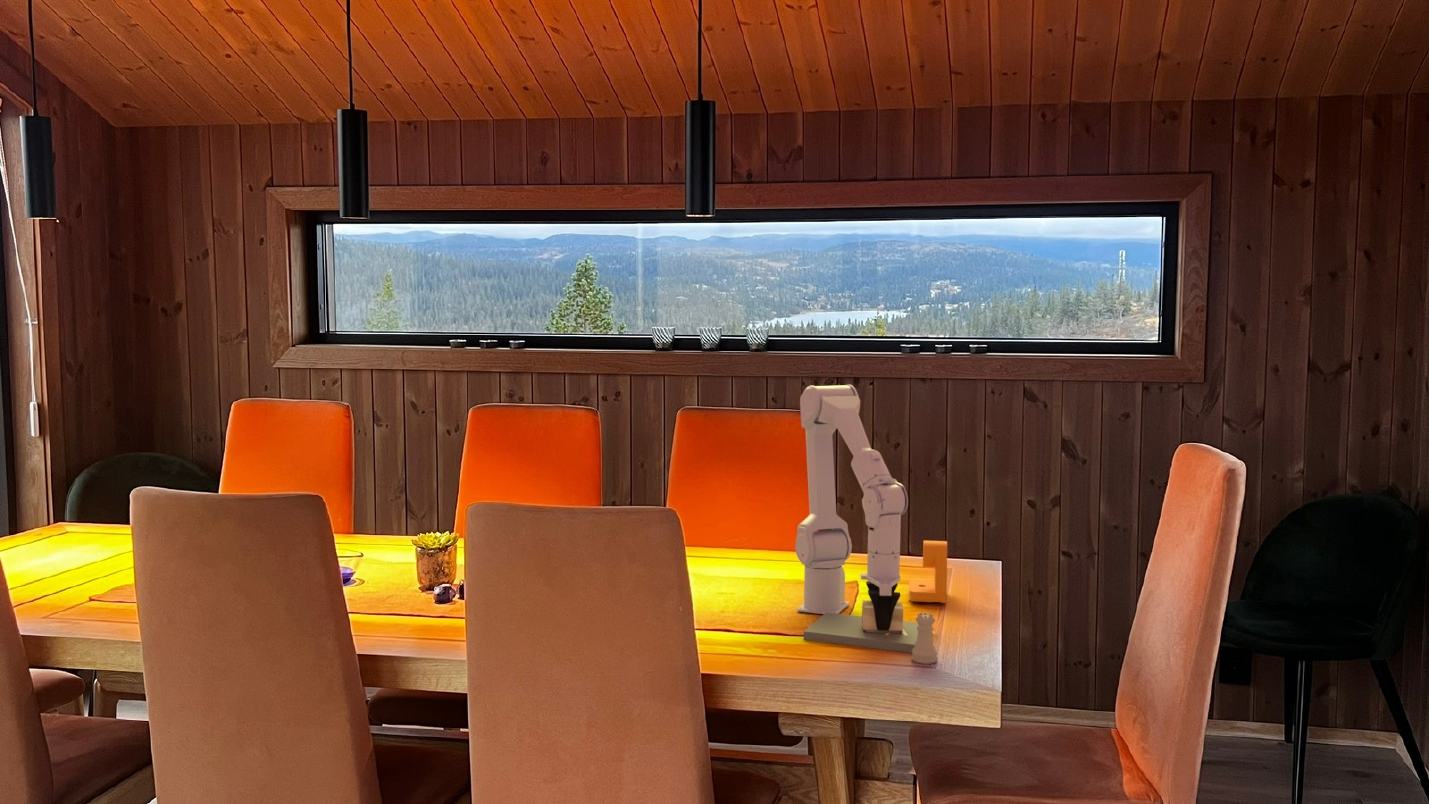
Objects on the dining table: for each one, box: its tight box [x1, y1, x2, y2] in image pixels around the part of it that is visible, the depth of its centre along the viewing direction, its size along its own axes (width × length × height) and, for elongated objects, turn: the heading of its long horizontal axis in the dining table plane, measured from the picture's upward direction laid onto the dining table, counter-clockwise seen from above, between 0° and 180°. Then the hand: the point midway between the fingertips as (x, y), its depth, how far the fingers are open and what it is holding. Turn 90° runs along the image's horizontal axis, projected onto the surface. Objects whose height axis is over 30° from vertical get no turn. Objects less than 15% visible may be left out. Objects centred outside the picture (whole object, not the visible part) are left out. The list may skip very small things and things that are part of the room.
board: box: [803, 612, 918, 654], centre depth 220 cm, size 14×20×2 cm
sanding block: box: [861, 599, 904, 633], centre depth 219 cm, size 5×7×4 cm
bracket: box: [908, 540, 948, 604], centre depth 246 cm, size 11×7×12 cm, turn 171°
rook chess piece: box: [910, 611, 939, 665], centre depth 205 cm, size 4×4×8 cm
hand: (882, 625), depth 219 cm, fingers closed on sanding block, 5 cm apart
